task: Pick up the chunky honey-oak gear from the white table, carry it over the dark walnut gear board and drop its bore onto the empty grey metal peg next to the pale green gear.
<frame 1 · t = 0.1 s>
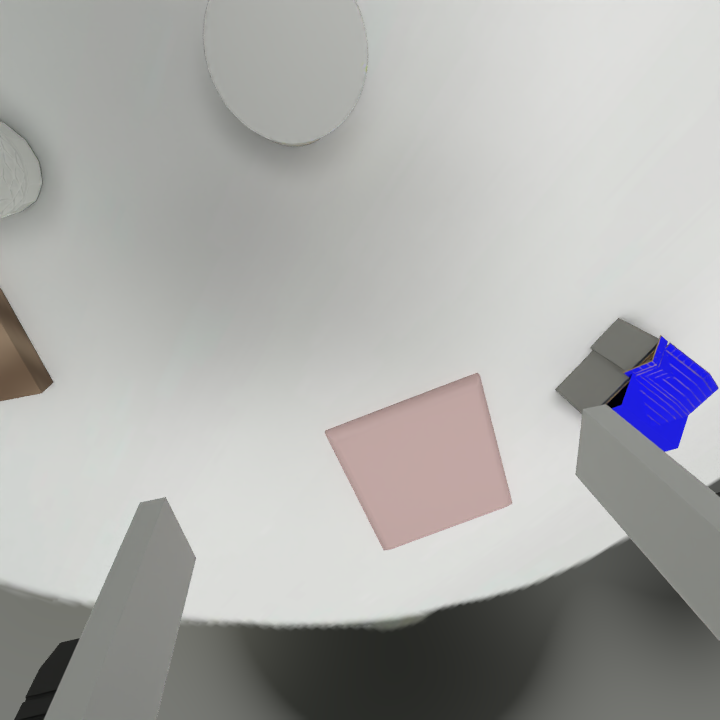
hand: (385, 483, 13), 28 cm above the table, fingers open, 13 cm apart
grey cylinder: (290, 86, 32), on the table
panel: (355, 471, 50), on the table
house: (610, 373, 48), on the table
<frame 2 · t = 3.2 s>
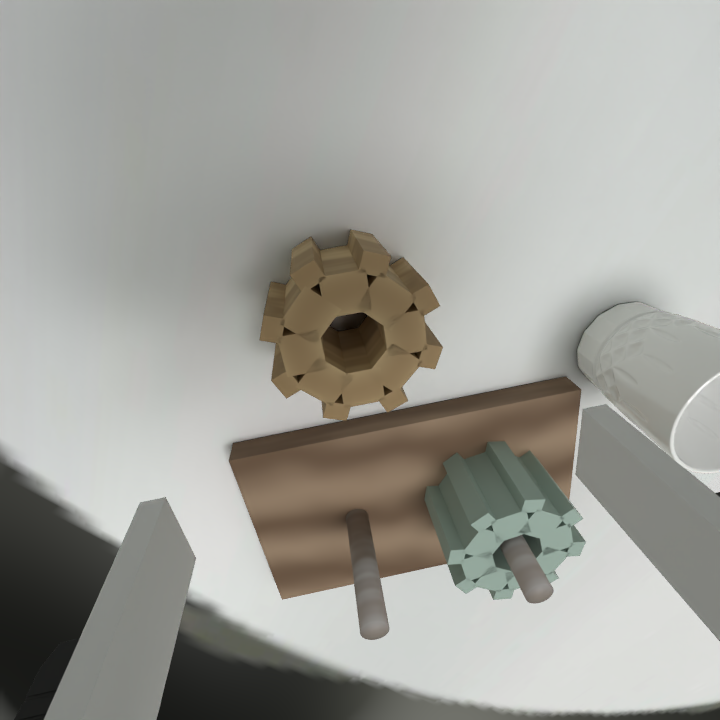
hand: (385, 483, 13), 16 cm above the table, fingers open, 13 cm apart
walnut gear board: (412, 486, 36), on the table
oak gear: (344, 306, 28), on the table
white cup: (616, 342, 32), on the table
pale green gear: (483, 490, 34), resting on walnut gear board
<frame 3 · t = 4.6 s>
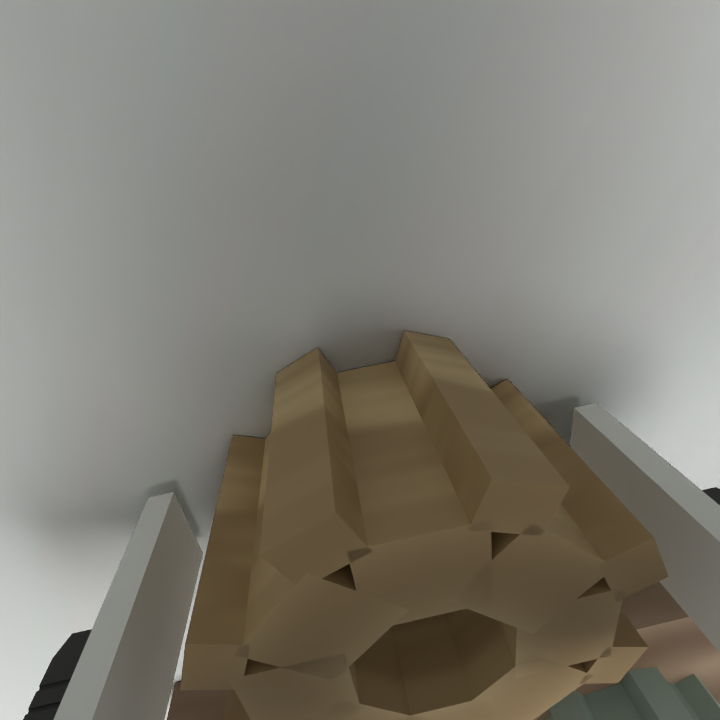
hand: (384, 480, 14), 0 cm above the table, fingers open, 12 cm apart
walnut gear board: (480, 705, 22), on the table
oak gear: (382, 469, 14), on the table
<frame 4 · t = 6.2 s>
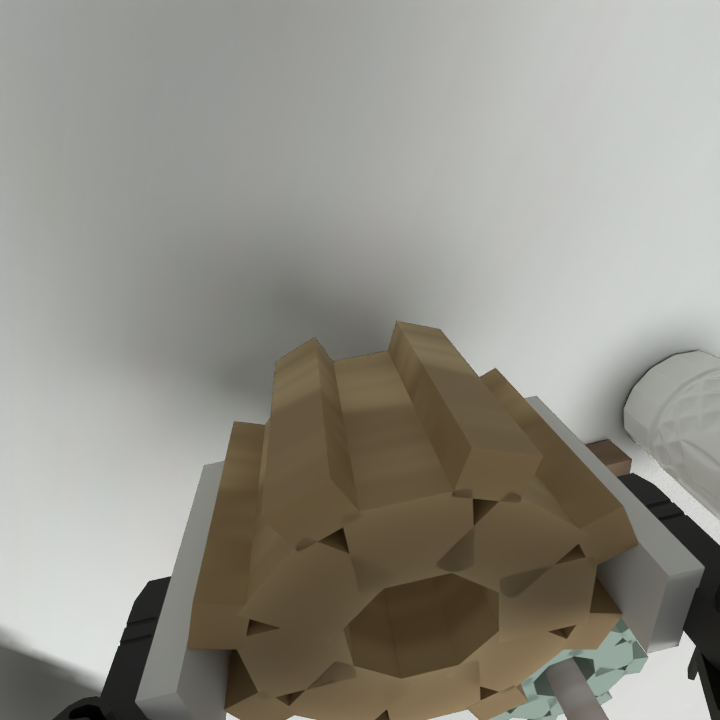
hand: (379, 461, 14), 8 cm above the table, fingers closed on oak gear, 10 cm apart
walnut gear board: (422, 572, 29), on the table
oak gear: (377, 455, 15), point 8 cm above the table, touching gripper
white cup: (669, 397, 26), on the table
pale green gear: (511, 578, 28), resting on walnut gear board
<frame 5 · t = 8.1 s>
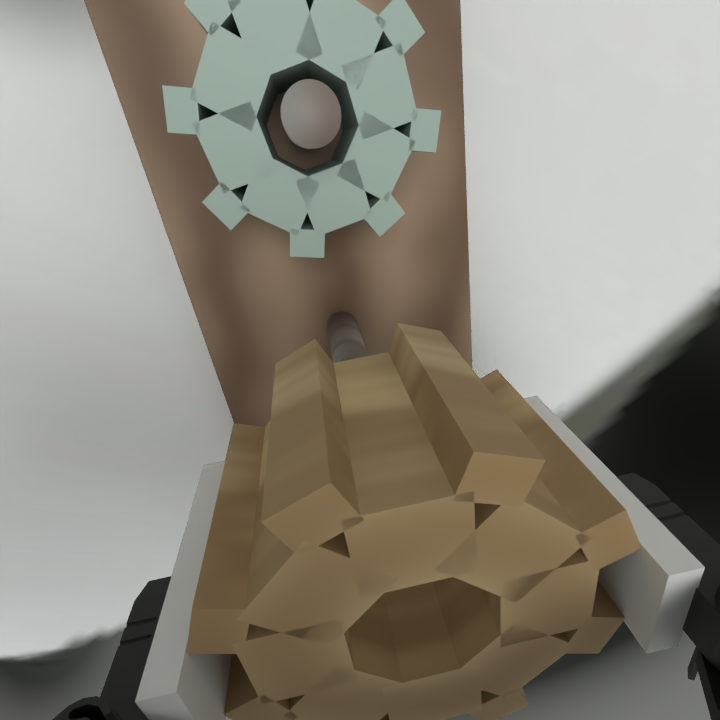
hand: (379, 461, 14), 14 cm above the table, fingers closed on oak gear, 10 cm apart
walnut gear board: (323, 235, 25), on the table
oak gear: (377, 457, 15), point 14 cm above the table, touching gripper
pale green gear: (304, 128, 21), resting on walnut gear board
when the fingers open (4 cm above the table, at t = 10.3 s): oak gear drops 2 cm, resting on walnut gear board.
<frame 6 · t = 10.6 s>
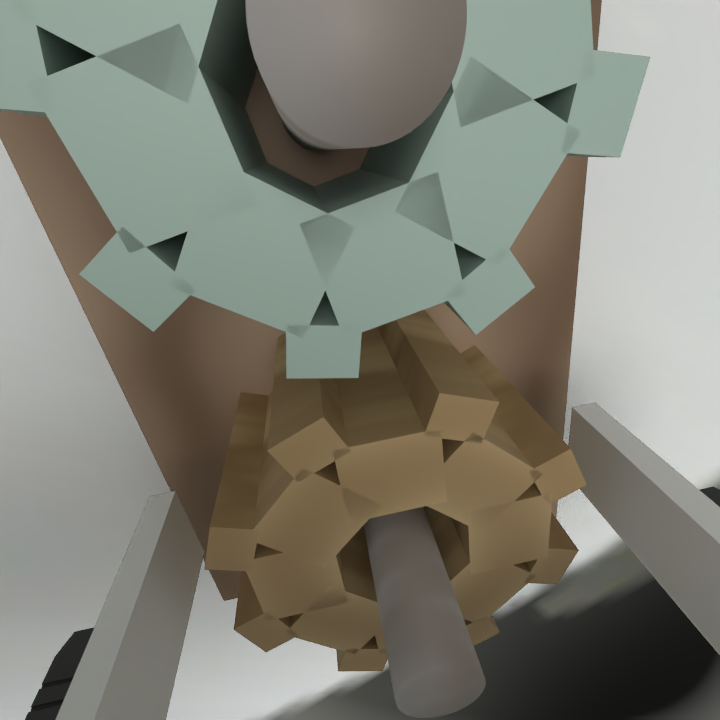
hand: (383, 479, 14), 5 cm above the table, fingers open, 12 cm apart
walnut gear board: (342, 286, 16), on the table
oak gear: (369, 424, 16), point 2 cm above the table, touching walnut gear board
pale green gear: (315, 113, 11), resting on walnut gear board
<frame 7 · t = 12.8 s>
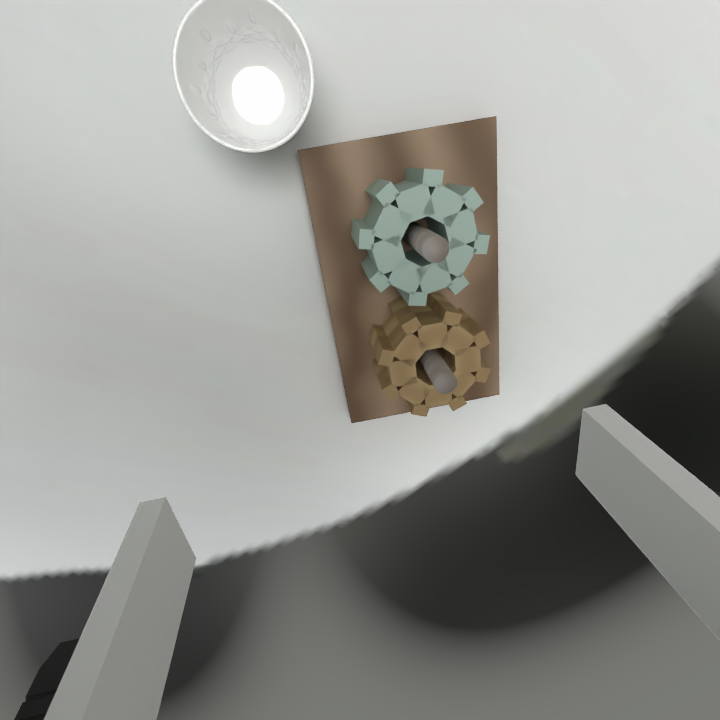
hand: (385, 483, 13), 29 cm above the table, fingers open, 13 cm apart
walnut gear board: (409, 285, 41), on the table
oak gear: (418, 339, 41), point 2 cm above the table, touching walnut gear board
white cup: (262, 99, 33), on the table
pale green gear: (407, 230, 37), resting on walnut gear board
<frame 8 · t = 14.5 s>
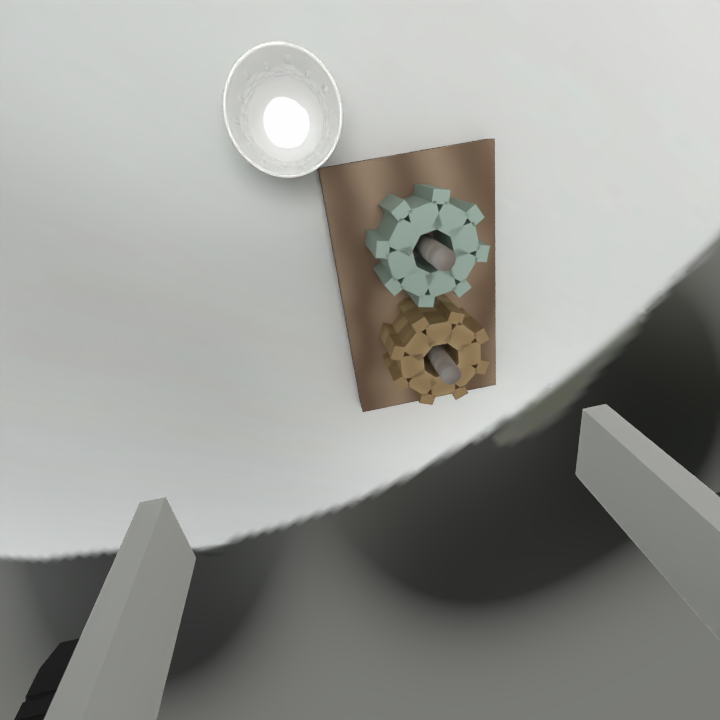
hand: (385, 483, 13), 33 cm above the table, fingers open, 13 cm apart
walnut gear board: (415, 287, 45), on the table
oak gear: (424, 336, 46), point 2 cm above the table, touching walnut gear board
white cup: (286, 122, 37), on the table
pale green gear: (415, 238, 41), resting on walnut gear board
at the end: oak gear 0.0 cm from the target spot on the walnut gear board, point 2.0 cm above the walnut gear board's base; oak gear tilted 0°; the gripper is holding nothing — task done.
